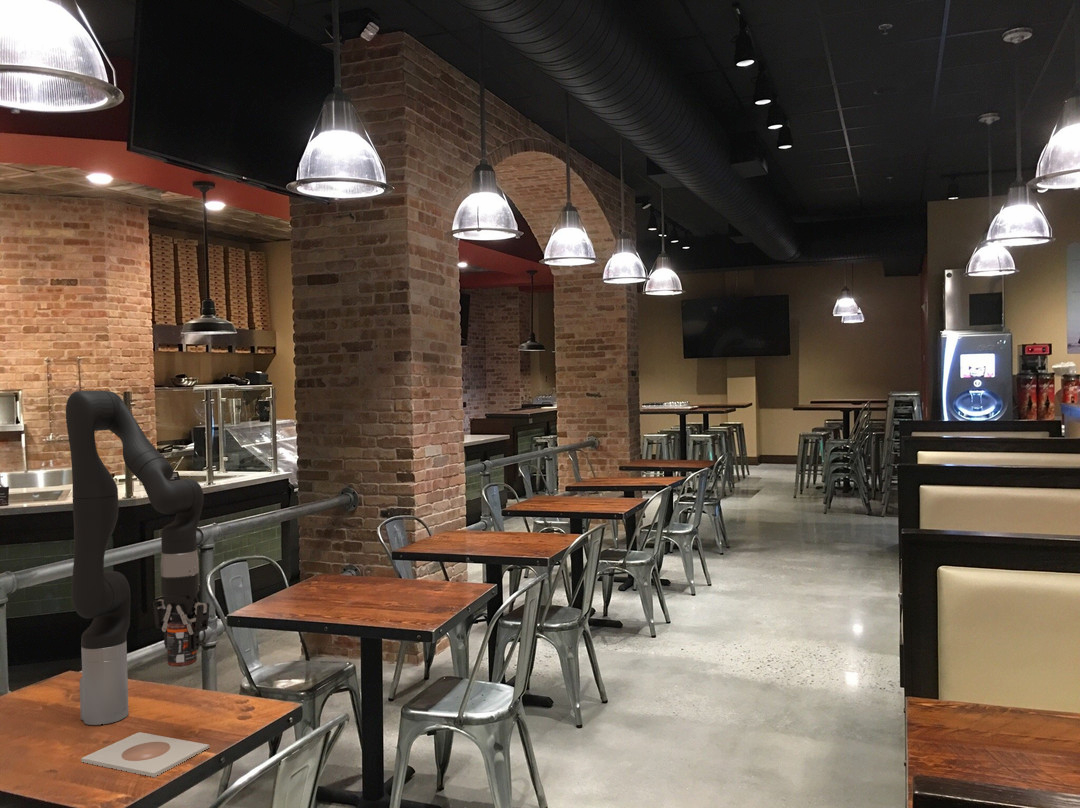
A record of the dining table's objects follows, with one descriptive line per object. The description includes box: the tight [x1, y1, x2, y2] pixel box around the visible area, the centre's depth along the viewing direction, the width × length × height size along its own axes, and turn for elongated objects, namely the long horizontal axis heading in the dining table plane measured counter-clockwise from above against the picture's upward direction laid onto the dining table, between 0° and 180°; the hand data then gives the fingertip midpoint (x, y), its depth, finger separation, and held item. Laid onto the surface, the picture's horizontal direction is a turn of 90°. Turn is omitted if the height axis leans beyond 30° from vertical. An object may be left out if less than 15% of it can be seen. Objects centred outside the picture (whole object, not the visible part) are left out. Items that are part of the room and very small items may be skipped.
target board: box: [80, 731, 211, 778], centre depth 171 cm, size 20×14×1 cm
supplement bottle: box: [166, 613, 198, 668], centre depth 181 cm, size 6×6×11 cm
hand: (182, 649), depth 181 cm, fingers closed on supplement bottle, 6 cm apart
